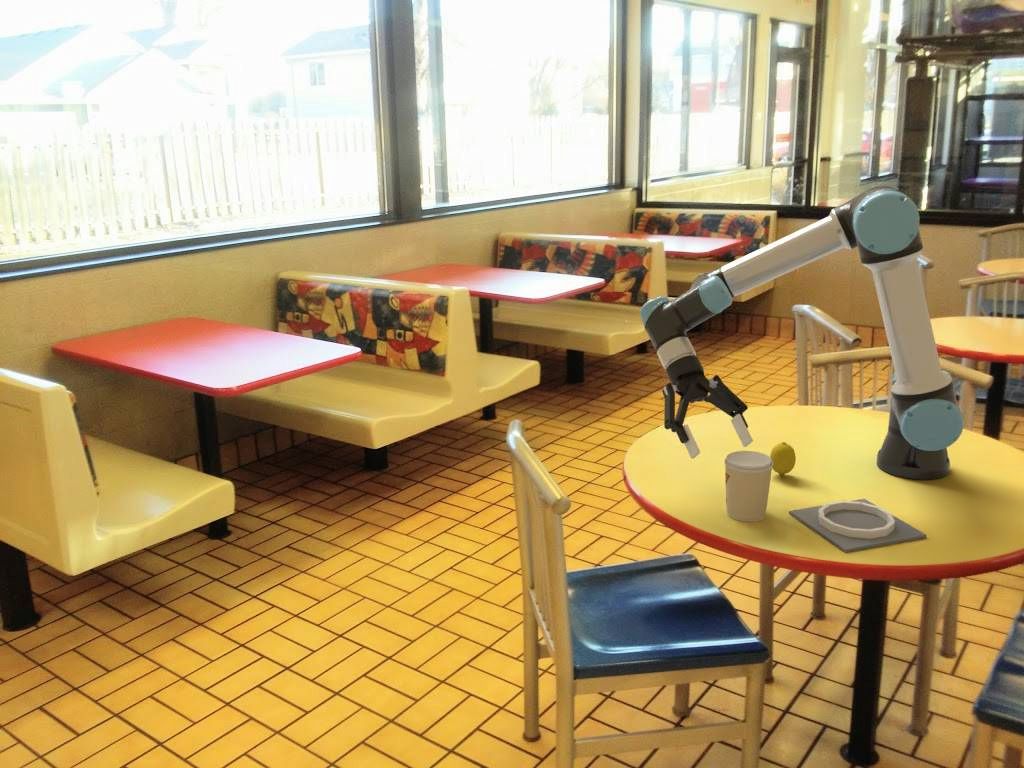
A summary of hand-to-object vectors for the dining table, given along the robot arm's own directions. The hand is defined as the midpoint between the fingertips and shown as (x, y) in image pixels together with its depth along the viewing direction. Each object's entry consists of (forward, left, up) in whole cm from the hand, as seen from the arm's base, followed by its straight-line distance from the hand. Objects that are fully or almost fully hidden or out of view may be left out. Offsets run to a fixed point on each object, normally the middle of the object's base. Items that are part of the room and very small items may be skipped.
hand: (722, 449), depth 184 cm
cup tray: (-19, +19, -12) cm, 29 cm away
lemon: (-20, -8, -12) cm, 25 cm away
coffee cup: (-2, +7, -12) cm, 14 cm away
